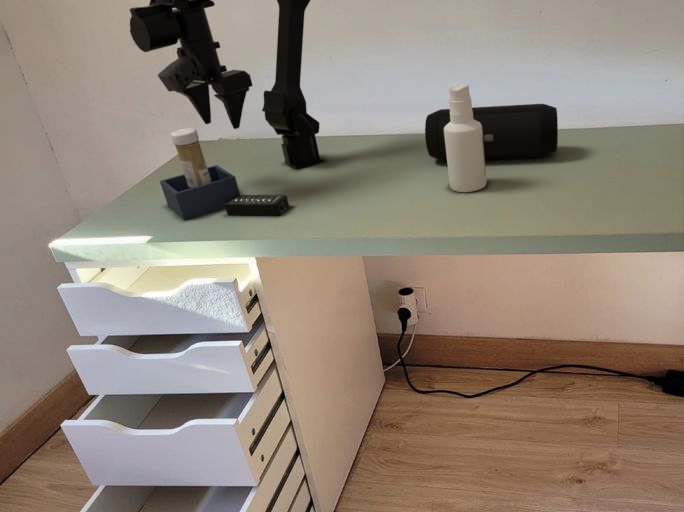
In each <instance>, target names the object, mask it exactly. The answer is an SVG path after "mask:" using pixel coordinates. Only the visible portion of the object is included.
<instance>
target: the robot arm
mask: <svg viewBox="0 0 684 512" xmlns="http://www.w3.org/2000/svg"><path fill="white" fill-rule="evenodd" d="M276 2H277V4H278V21H277V22H278V23H277V25H278V26H277V42H276V58H275V59H276V63H275V64H276V65H275V80H274V84H273V86H272V88H271V90H264V91H263V107H262V109H261V112H264V119H265V121H266V122H267V124H268V125H269V126H270V127H271V128H273V131H274V132H275V134H276V135H277V136H281V139H282V143H281V150H282V153H283V157H284V163H285V164H287V165H288V166H290V167H292V168H294V169H302V168H305V167H308V166H313V165H315V164H318V163H321V162H324V158H323V157H321V155H320V152H319V147H318V142H317V138H316V135H317V134H319V133H320V121H318V120H317V119H315V118H314V117H313V116H311V115H310V114H309V113H308V110H307V109H308V108H307V100H306V98H305V96H304V93H303V91H302V88H301V79H302V77H301V75H302V58H303V45H304V44H303V43H304V42H303V41H304V29H305V26H304V25H305V13H306V10H307V8H308V6H309V4H310V3H311V0H276ZM212 7H215V2H214V1H213V0H149V3H148V5H146V6H134V7H130V8H129V13H130V15H131V16H130V18H129V28H130V29H129V32H130V35H131V36H130V37H131V38H132V40H133V42H134V43H135V45H136V46H137V47H138V49H139V50H140V51H142V52H144V53H149V52H152V51H155V50H160V49H164V48H168V47H172V46H175V45H177V44H178V42H179V43H180V46H179V47H176V55H177V59H175V60H174V61H172V62H171V63H170V64H168V65H167V66H166V67H165V68H164V69H162V70H161V71H160V72H159V73H158V74H157V77H158V79H159V80H160V81H161V83H162V84H163V86H164V87H165V89H166V90H167V91H168V92H170V93H171V92H175V93H178V94H180V95H182V96H184V97H186V98H187V99H188V101H189V102H190V103H191V105H192V107H193V108H194V109H195V111H196V112H197V114H198V115H199V116H200V118H201V120H202V121H203V122H204V125H210V124H211V123H212V111H211V110H212V109H211V98H210V97H211V96H210V86H211V88H212V90H213V91H214V93H215V94H213V96H214V97H215V99H216V98H217V99H218V100H219V101H220V102H222V104H223V106H224V109H225V111H226V114H227V117H228V119H229V122H230V124H231V126H232V128H233V129H234V130H237V129H239V128H240V127H241V120H242V115H243V109H244V104H245V100H246V96H247V92H250V88H251V87H253V82H252V78H251V77H252V76H251V74H250V73H248V72H247V71H246V70H241V69H230V70H228V69H227V66H226V64H225V65H223V64H221V62H220V59H219V55H218V51H217V49H221V44H220V42H219V41H214V37H213V34H212V30H211V26H210V22H209V20H208V17H207V13H206V10H205V9H208V8H212Z"/></svg>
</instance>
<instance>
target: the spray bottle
mask: <svg viewBox="0 0 684 512" xmlns="http://www.w3.org/2000/svg"><path fill="white" fill-rule="evenodd" d="M448 93H449V97H448V98H449V99H448V105H449V109H450V120H451V122H449V123H448V124H447V125H446V126H445V127H444V137H445V146H446V155H447V161H446V162H447V173H448V180H449V187H450V189H451V190H452V191H454V192H458V193H471V192H476V191H480V190H481V189H483V188H485V187H486V185H487V182H488V181H487V172H486V171H487V170H486V160H485V157H484V145H483V133H482V125H481V123H480V122H478V121H476V120H474V119H473V110H472V108H473V105H472V97H471V94H470V87H469V84H468V83H462V82H461V83H455V84H454V83H453V84H451V85H449V86H448Z"/></svg>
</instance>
